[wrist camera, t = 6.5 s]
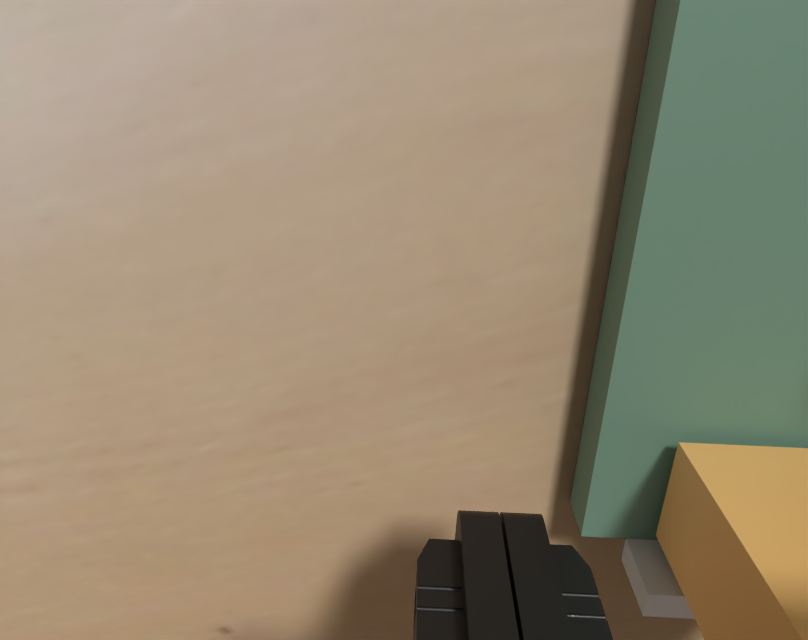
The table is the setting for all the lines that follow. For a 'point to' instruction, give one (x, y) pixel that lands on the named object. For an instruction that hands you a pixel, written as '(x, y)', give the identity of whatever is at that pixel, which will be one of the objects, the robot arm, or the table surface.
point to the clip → (740, 539)
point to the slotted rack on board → (701, 272)
